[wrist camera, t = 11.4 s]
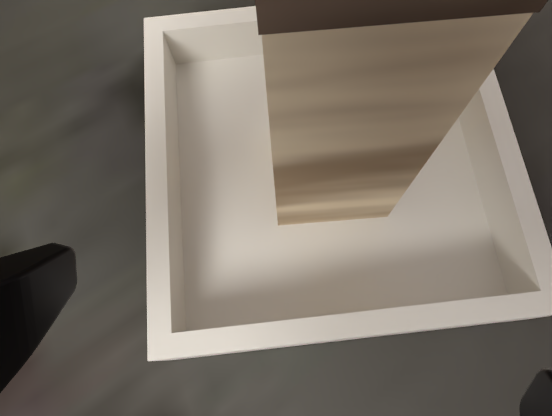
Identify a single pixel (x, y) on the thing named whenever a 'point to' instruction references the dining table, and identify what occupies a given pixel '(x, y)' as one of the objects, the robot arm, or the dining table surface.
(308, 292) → the tray
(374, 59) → the birch block
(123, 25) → the dining table surface
